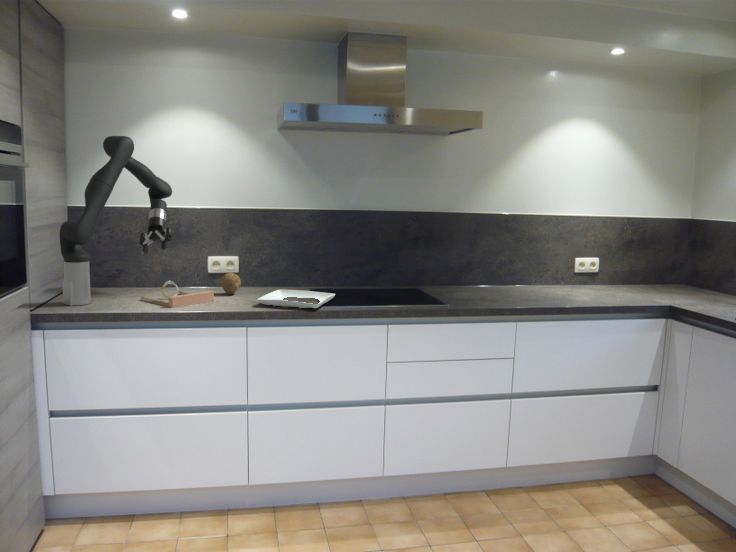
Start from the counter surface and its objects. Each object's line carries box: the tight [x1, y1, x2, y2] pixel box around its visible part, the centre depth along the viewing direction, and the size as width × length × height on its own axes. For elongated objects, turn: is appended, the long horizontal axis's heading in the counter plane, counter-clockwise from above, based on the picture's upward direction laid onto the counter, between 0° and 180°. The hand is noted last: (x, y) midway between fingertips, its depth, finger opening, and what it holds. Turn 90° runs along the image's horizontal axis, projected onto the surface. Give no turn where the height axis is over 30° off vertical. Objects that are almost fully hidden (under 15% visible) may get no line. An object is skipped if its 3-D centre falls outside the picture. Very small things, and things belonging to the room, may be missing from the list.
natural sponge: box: [220, 272, 242, 296], centre depth 271 cm, size 9×9×10 cm
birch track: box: [140, 290, 194, 308], centre depth 254 cm, size 20×20×2 cm
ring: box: [160, 279, 180, 299], centre depth 256 cm, size 7×3×8 cm, turn 99°
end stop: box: [168, 290, 215, 309], centre depth 248 cm, size 20×2×4 cm, turn 143°
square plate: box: [256, 288, 336, 309], centre depth 257 cm, size 27×27×4 cm
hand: (154, 251), depth 263 cm, fingers open, 8 cm apart
